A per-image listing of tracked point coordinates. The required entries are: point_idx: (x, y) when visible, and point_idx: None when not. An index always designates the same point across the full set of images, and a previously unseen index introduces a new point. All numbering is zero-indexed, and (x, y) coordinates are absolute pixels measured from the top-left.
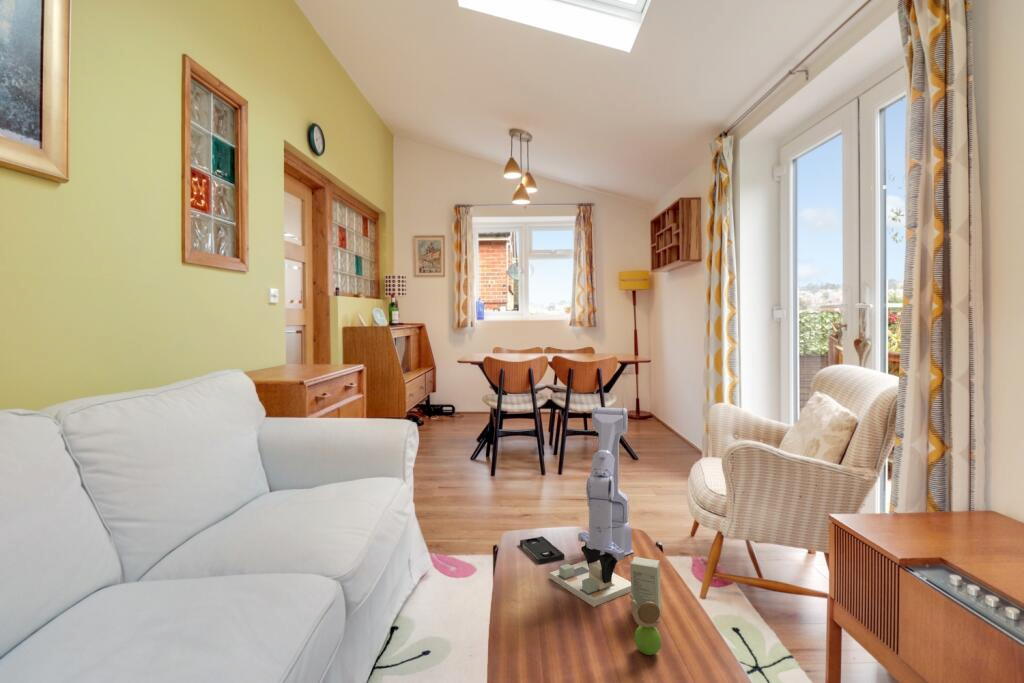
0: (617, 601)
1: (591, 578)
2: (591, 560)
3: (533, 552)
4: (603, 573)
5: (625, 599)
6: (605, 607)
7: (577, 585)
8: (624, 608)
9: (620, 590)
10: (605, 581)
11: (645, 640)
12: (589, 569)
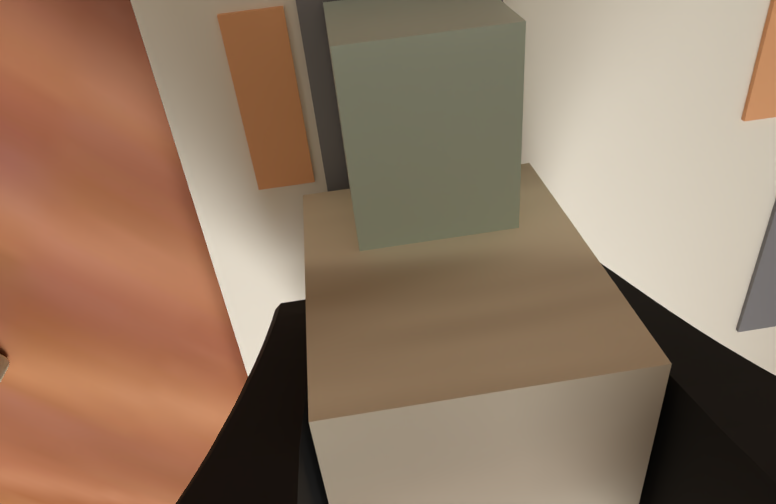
0: (167, 269)
1: (477, 206)
2: (692, 457)
3: None
4: (259, 407)
5: (177, 348)
6: (80, 79)
7: (624, 1)
8: (3, 256)
9: None
10: (274, 330)
11: None
12: (601, 288)
